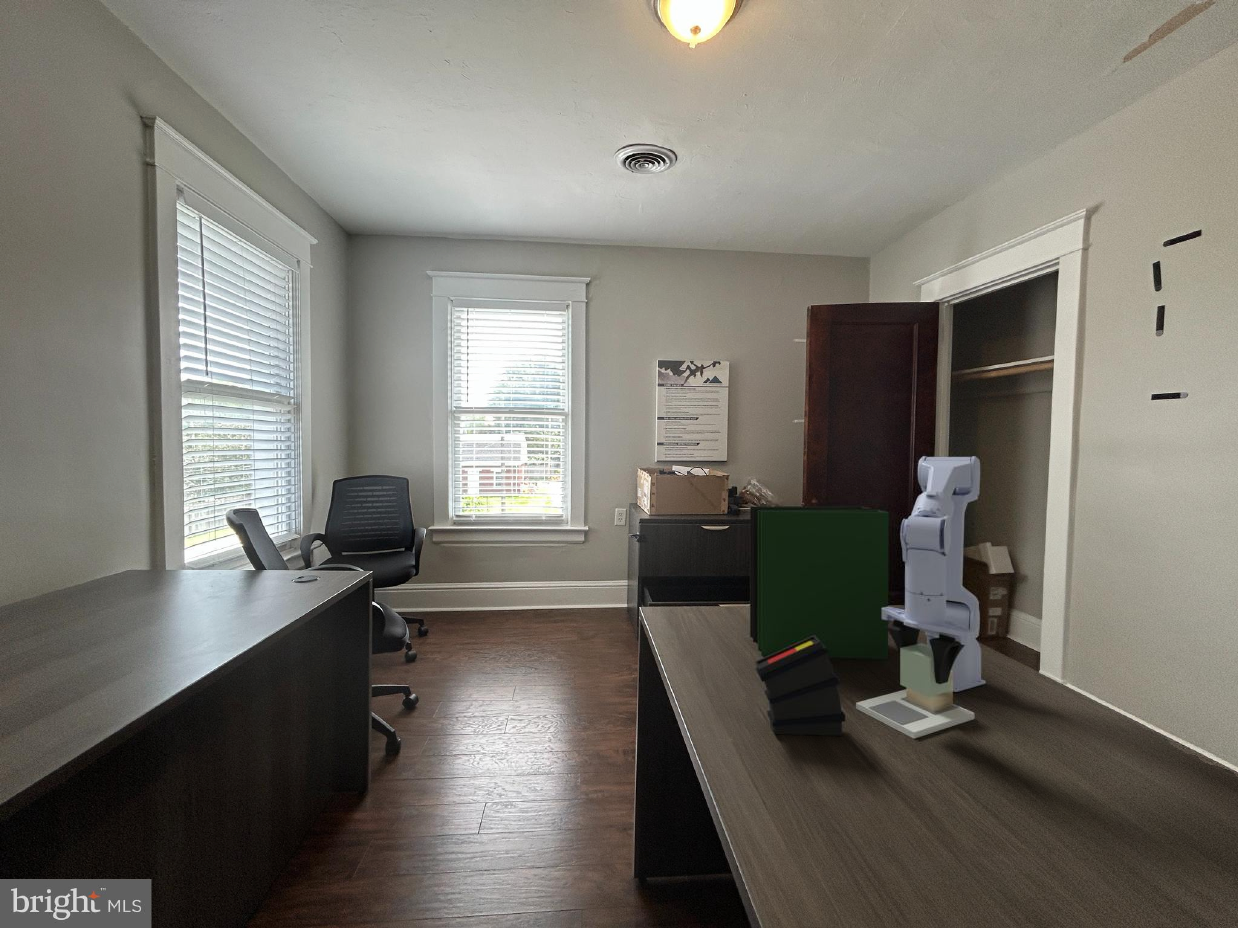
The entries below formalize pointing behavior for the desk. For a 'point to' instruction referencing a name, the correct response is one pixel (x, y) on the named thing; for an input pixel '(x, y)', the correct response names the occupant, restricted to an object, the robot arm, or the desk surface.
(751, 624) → the binder
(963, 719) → the board
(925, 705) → the wooden toy cube
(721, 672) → the desk surface
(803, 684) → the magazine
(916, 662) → the sage post
